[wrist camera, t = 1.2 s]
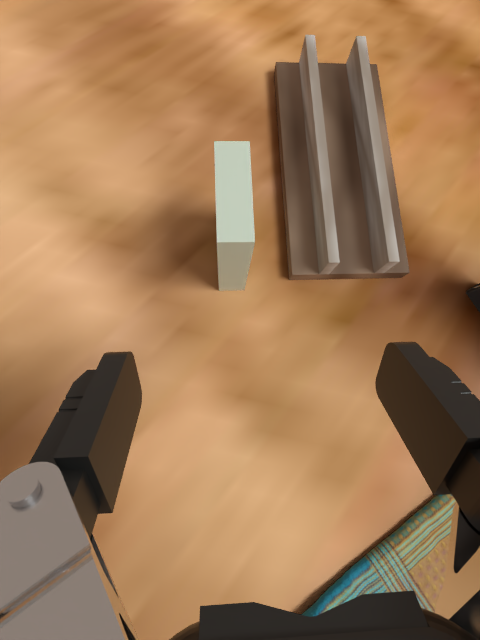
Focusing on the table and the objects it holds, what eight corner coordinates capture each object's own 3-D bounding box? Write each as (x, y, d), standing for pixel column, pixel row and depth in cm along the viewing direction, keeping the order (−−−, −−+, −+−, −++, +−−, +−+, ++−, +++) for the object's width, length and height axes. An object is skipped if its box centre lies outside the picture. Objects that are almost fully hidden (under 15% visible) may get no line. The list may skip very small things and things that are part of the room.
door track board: (289, 279, 33) (299, 263, 29) (274, 74, 38) (280, 34, 34) (401, 277, 34) (428, 261, 29) (370, 76, 39) (389, 37, 35)
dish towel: (283, 615, 27) (289, 638, 25) (477, 449, 31) (499, 455, 28) (412, 825, 25) (433, 874, 22) (606, 617, 28) (642, 639, 26)
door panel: (218, 290, 32) (216, 242, 22) (217, 219, 34) (214, 141, 23) (244, 290, 33) (254, 241, 22) (241, 218, 34) (249, 141, 23)
